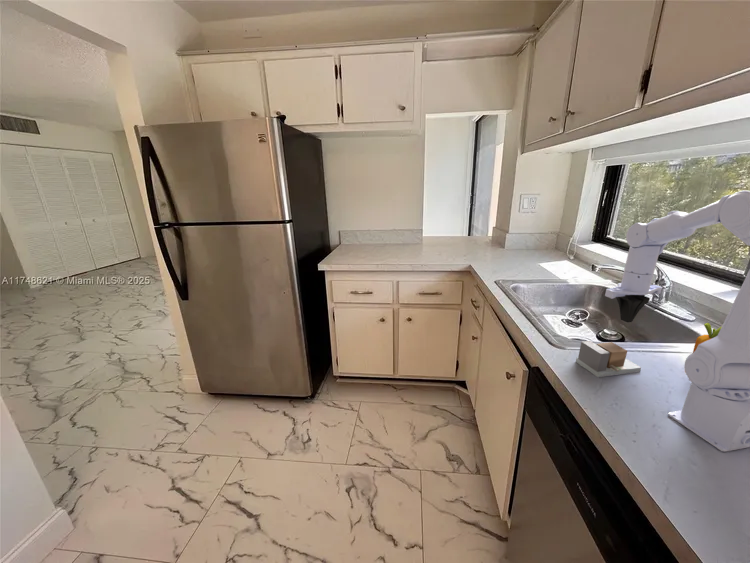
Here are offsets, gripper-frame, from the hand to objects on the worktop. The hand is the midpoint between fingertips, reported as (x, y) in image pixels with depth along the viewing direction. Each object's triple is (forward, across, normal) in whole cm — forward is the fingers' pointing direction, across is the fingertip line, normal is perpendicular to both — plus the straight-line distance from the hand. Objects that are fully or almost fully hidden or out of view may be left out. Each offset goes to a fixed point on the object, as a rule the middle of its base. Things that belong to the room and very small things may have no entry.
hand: (626, 320), depth 82 cm
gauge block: (+9, +9, +6) cm, 13 cm away
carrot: (+10, -8, +14) cm, 19 cm away
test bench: (+10, +8, +5) cm, 14 cm away
